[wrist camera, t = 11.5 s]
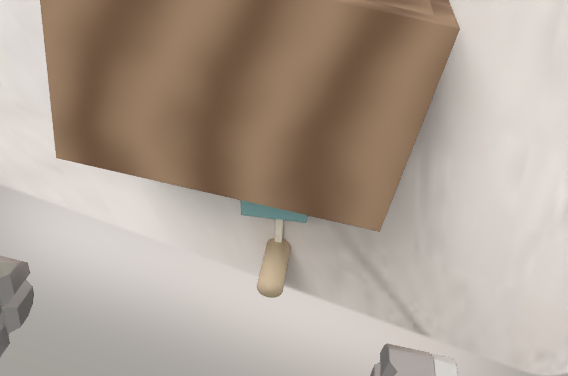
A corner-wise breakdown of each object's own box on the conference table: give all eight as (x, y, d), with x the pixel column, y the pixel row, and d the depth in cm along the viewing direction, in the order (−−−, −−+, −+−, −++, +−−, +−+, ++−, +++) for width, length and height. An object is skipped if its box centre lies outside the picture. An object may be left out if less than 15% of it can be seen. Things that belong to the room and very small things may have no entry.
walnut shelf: (437, -29, 35) (459, 28, 26) (377, 144, 44) (379, 231, 35) (119, -101, 35) (32, -69, 26) (120, 85, 44) (56, 158, 35)
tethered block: (316, 134, 44) (310, 172, 39) (305, 259, 52) (299, 301, 48) (252, 128, 44) (238, 164, 40) (251, 252, 53) (240, 293, 48)
